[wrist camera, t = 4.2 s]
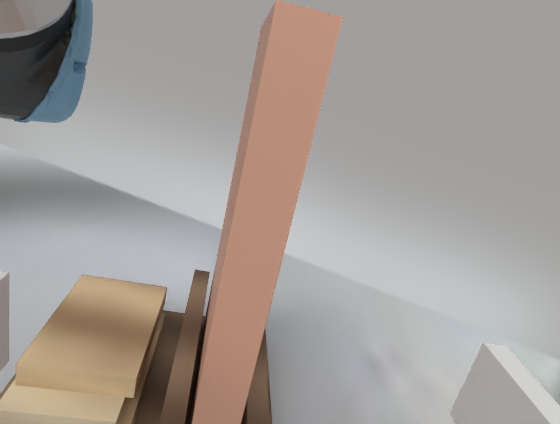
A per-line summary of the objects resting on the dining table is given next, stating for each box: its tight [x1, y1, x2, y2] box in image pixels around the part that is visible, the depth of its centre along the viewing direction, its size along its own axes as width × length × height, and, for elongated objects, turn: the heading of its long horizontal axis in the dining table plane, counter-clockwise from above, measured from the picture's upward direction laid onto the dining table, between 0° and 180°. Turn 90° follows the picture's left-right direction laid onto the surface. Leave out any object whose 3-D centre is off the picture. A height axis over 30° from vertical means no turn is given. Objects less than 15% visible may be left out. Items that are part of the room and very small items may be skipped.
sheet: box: [189, 0, 343, 424], centre depth 21 cm, size 12×2×20 cm, turn 5°
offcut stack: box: [0, 275, 167, 424], centre depth 23 cm, size 10×6×4 cm, turn 5°
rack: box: [0, 270, 272, 424], centre depth 23 cm, size 14×14×6 cm
